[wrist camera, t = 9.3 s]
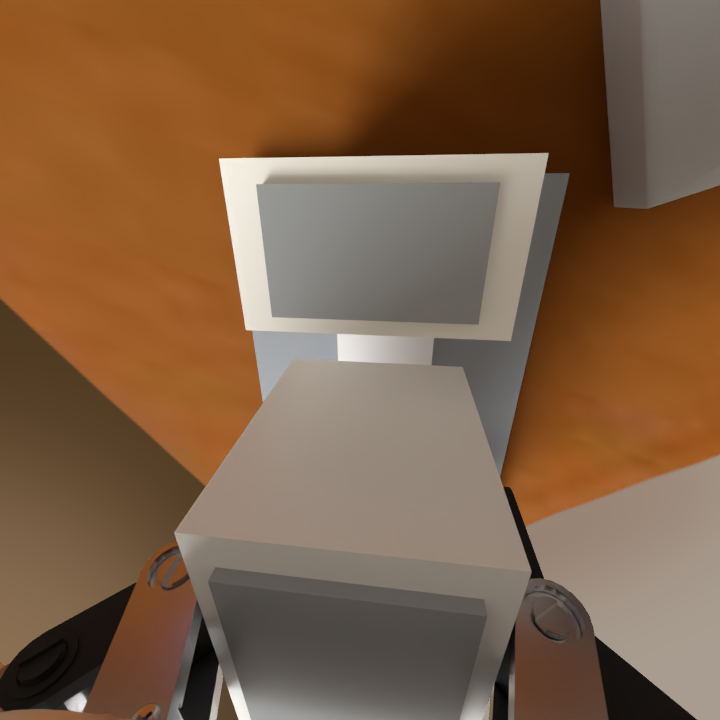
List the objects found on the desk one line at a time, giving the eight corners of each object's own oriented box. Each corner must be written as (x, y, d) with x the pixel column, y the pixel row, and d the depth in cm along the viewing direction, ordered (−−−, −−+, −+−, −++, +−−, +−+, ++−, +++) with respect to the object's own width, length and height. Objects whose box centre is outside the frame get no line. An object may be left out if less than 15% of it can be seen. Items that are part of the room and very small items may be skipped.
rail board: (552, 175, 13) (760, 147, 5) (483, 502, 20) (529, 685, 13) (246, 178, 14) (64, 159, 7) (286, 484, 22) (221, 640, 14)
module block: (462, 366, 10) (538, 589, 4) (439, 533, 13) (465, 791, 7) (293, 358, 10) (164, 546, 5) (309, 520, 13) (240, 751, 8)
